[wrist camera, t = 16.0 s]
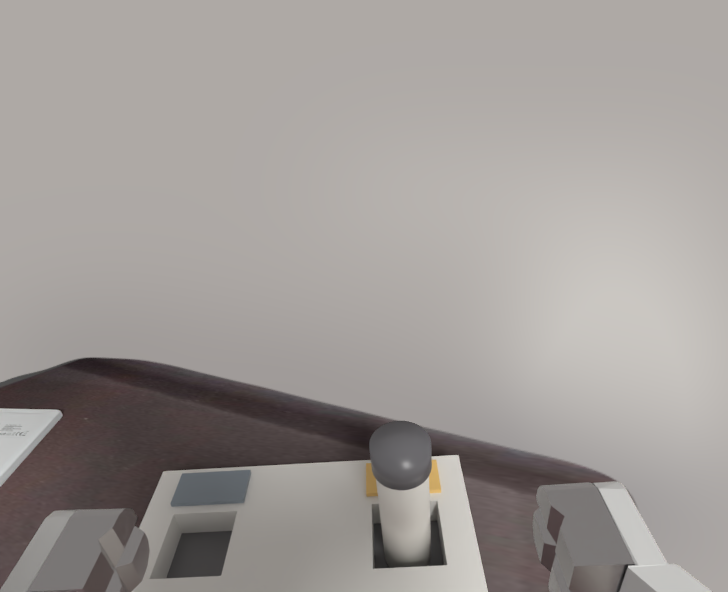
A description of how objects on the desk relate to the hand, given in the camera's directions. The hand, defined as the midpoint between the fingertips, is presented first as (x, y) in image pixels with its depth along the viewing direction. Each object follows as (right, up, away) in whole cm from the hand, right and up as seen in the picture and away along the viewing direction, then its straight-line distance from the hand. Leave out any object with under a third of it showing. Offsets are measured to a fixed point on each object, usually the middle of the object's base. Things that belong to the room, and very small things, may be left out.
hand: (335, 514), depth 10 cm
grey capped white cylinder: (+4, -15, +28) cm, 32 cm away
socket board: (-4, -16, +29) cm, 33 cm away
